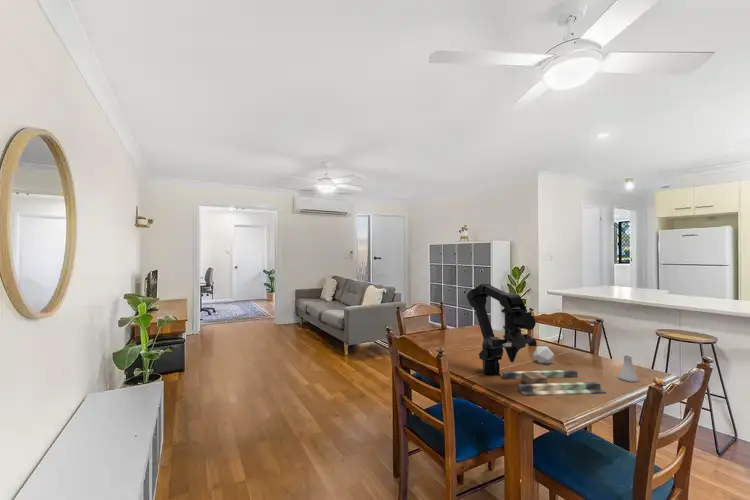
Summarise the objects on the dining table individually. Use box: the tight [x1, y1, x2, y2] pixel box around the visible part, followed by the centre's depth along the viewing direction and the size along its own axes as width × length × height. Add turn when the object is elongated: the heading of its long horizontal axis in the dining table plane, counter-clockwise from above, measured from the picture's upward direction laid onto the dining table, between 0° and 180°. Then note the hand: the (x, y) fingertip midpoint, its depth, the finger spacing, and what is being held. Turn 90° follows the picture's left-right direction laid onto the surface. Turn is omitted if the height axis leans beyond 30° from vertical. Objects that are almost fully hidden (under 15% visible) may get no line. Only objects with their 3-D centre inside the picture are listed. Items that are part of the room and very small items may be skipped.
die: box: [532, 345, 555, 365], centre depth 170 cm, size 8×9×10 cm
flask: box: [617, 354, 639, 383], centre depth 148 cm, size 7×7×10 cm
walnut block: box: [521, 372, 548, 384], centre depth 143 cm, size 7×7×4 cm
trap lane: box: [499, 369, 607, 397], centre depth 143 cm, size 33×22×2 cm, turn 94°
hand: (511, 362), depth 142 cm, fingers closed
